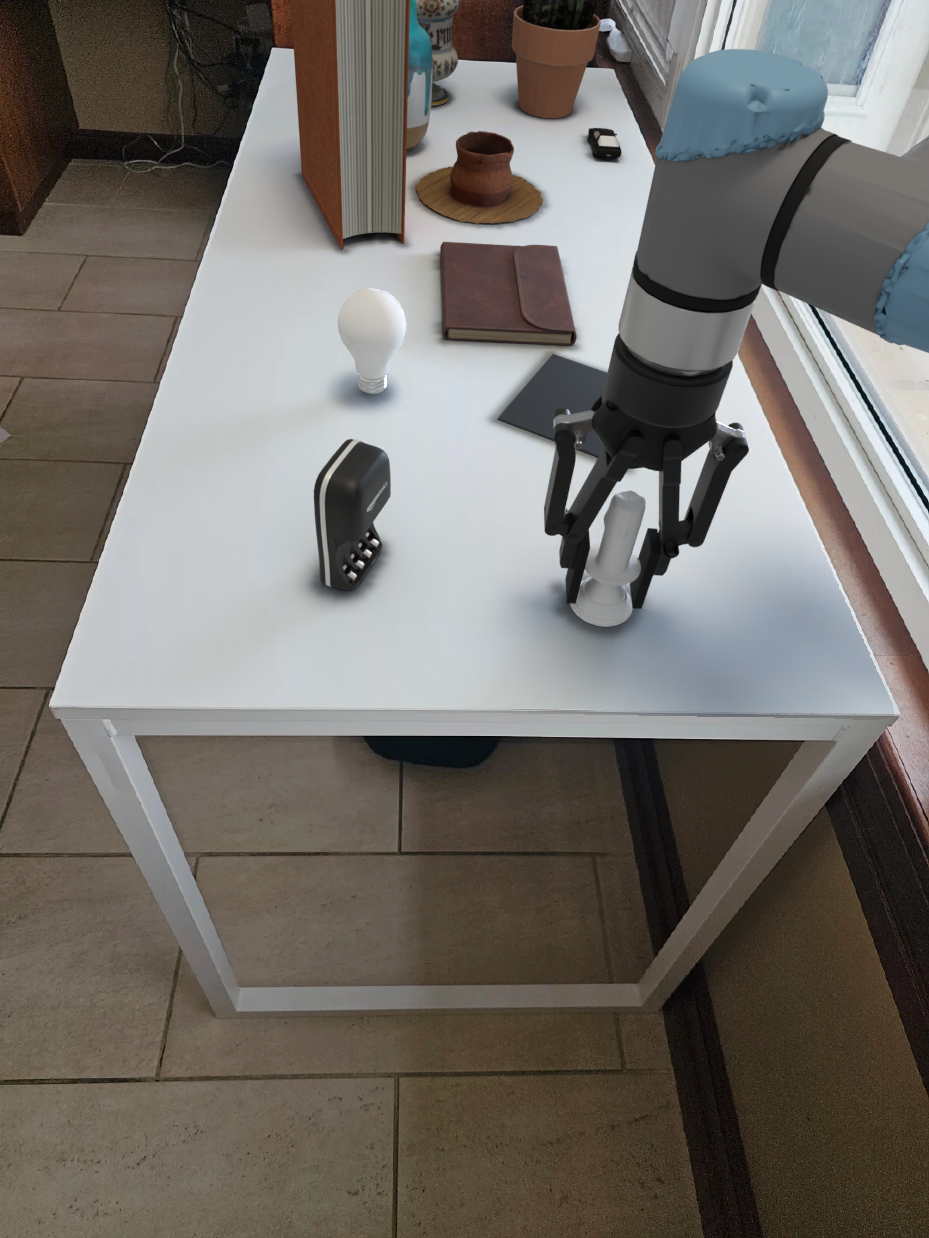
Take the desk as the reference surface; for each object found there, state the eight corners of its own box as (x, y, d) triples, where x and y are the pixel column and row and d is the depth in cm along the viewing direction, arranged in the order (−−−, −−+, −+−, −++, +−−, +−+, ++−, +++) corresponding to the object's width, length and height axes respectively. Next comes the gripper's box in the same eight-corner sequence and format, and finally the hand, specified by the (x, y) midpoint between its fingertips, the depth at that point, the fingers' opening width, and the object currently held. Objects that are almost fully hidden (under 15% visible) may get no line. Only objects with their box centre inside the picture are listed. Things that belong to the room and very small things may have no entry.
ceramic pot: (565, 215, 120) (574, 161, 114) (450, 233, 114) (453, 177, 108) (505, 161, 130) (510, 110, 124) (395, 175, 124) (396, 122, 118)
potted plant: (507, 89, 149) (526, -96, 130) (586, 99, 149) (616, -85, 130) (501, 119, 140) (520, -75, 121) (585, 129, 140) (617, -63, 121)
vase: (396, 126, 135) (398, -22, 121) (444, 149, 131) (452, -2, 116) (344, 142, 130) (339, -11, 115) (392, 167, 125) (394, 11, 111)
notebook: (442, 339, 97) (443, 323, 95) (440, 253, 110) (440, 238, 108) (575, 346, 98) (578, 330, 97) (557, 260, 111) (559, 245, 109)
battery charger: (359, 601, 71) (356, 496, 62) (317, 586, 72) (309, 480, 63) (394, 547, 75) (397, 441, 67) (355, 533, 76) (352, 427, 67)
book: (404, 243, 111) (411, -44, 88) (341, 250, 108) (332, -44, 86) (356, 168, 124) (351, -99, 101) (299, 172, 122) (282, -100, 99)
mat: (671, 396, 93) (671, 395, 93) (625, 467, 85) (625, 466, 85) (552, 355, 97) (552, 353, 96) (497, 419, 88) (497, 417, 88)
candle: (560, 614, 72) (586, 505, 62) (579, 572, 75) (607, 463, 66) (622, 636, 70) (658, 528, 61) (639, 592, 74) (675, 484, 65)
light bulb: (332, 405, 88) (328, 305, 79) (349, 369, 92) (346, 270, 84) (397, 415, 87) (399, 316, 79) (410, 378, 92) (413, 281, 83)
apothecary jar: (464, 109, 142) (473, -24, 128) (392, 111, 139) (393, -25, 125) (444, 82, 149) (451, -46, 136) (376, 83, 146) (376, -48, 133)
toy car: (585, 135, 139) (588, 117, 136) (610, 137, 139) (613, 118, 137) (594, 161, 132) (597, 142, 130) (620, 163, 132) (624, 144, 130)
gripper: (802, 324, 57) (702, 570, 75) (533, 300, 56) (497, 553, 74) (829, 391, 52) (715, 637, 70) (535, 365, 51) (495, 619, 69)
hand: (603, 593), depth 72 cm, fingers closed on candle, 5 cm apart
